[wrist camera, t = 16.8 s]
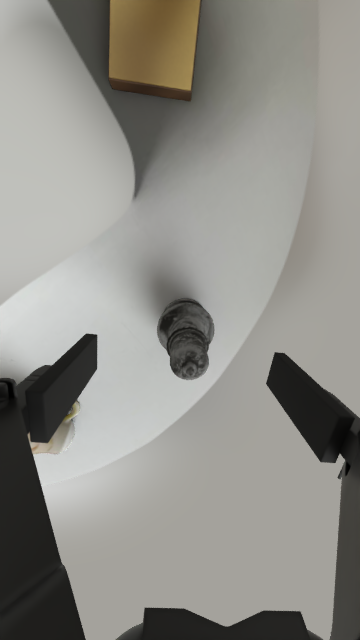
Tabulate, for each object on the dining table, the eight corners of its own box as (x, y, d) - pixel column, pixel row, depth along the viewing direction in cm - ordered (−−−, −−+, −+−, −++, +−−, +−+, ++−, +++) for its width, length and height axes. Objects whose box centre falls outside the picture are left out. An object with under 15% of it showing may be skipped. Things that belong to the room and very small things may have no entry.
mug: (76, 446, 31) (-9, 511, 23) (41, 394, 33) (-49, 435, 25) (95, 421, 28) (2, 488, 19) (54, 365, 30) (-45, 402, 21)
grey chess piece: (211, 340, 26) (238, 407, 15) (164, 346, 26) (154, 417, 15) (206, 292, 25) (232, 327, 13) (155, 299, 25) (137, 340, 13)
